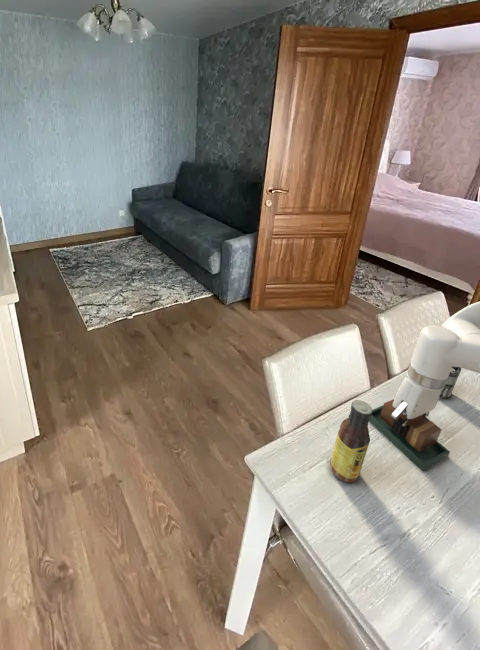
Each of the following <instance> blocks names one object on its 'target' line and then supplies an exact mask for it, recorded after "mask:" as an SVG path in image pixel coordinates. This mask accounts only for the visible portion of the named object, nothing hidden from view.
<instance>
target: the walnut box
mask: <svg viewBox="0 0 480 650" xmlns="http://www.w3.org/2000/svg"><path fill="white" fill-rule="evenodd" d="M394 399H395V398H393V399H390V400H388V401H386V402H384V403H383V405H382V406H383V408H382V411H381V414H380V418H381V419H382V420H384V421H385V422H386V423H387V424H388V425H389V426H390V427H392V425H393V422H394V418H393V417H392V416H391V414H392V413H393V412H394V411H395V410H396V409H397V408H394V407H393V402H394ZM405 411H406V410H405ZM400 417H401V418H402V419H403V420H404V421H405V419H406V416H405V415H403V414H402V415H401V416H400ZM407 426H408V430H407V432H406V435H405V437H404V439H405V440H406V441H407V442H409V444H410V445H412V446H413V447H414V448H415V449H417V450H418V451H419V452H421V451H423V450H425V449H427V448H428V447H430V446H432V445H434V444H436V442H437V441H438V439H439V437H440V435H441V432H442V428H440V426H438V425H437V424H436V423H434V422H433V421H432V420H430V419H429V418H427V417H426V416H424V415H420V416H418V417H416V418H414V419H411V420H410V421H409V423H408V424H407Z"/></svg>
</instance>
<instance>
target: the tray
mask: <svg viewBox="0 0 480 650" xmlns="http://www.w3.org/2000/svg"><path fill="white" fill-rule="evenodd" d="M382 408H383V405H380V406H378V407H375V408H372V416H371V417H370V418H369V422H368V423H370V424H372V426H373V427H374V428H376V430H378V431H379V432H380V433H381V434H382V435H383V436H384V437H386V438H387V439H388V440H389V442H391V443H392V444H393V445H394V446H395V447H396V448H397V449H399V451H401V452H402V453H403V455H405V456H406V457H407V458H408V459H409V460H410V461H411V462H412V463H413V464H415V466H416V467H418V468H419V469H420V470H421V471H422V472H423V471H425V470H427V469H429V468H431V467H432V466H435V465H436V464H438V463H440V462H441V461H443V460H445V459H447V458H448V457H449V456H450V453H451V451H450V450H448V449H447V448H446V447H445V446H444V445H443V444H442V443H440V442H439V441H438V440H437V442H436V444H434V445H432V446H430V447H428V448H427V449H425V450H423V451H421V452H419V451H418V450H417V449H415V448H414V447H413V446H412V445H410V444H409V442H407V441H406V440H405V439H404V438H402V437H400V436H399V435H398V434H397V433H396V432H395V431H394V430H393V429H392V427H390V426H389V425H388V424H387V423H386V422H385V421H384V420H382V419H381V418H380V414H381V411H382Z"/></svg>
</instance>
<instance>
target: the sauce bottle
mask: <svg viewBox="0 0 480 650" xmlns="http://www.w3.org/2000/svg"><path fill="white" fill-rule="evenodd" d="M350 405H351V406H350V413H349V415H348V417H347V418H345V419H344V420H342V421H341V423H340V425H339V430H338V432H337V435H336V438H335V441H334V442H335V444H334V447H333V450H332V453H331V458H330V468H331V472H332V473H333V475H334V476H335V477H336V478H337V479H339V480H340V481H342V482H345V483H353V482H355V481H356V480H357V479H358V478H359V476H360V474H361V470H362V468H363V464H364V461H365V458H366V455H367V452H368V448H369V445H370V442H371V438H370V437H371V436H370V431H369V423H370V422H369V418H370V417H371V416H372V410H373V408H372V406H371V405H370V404H369V403H368V402H366V401H364V400H361V399H354V400H353V401H352V402H351V404H350Z"/></svg>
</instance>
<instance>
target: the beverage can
mask: <svg viewBox="0 0 480 650" xmlns="http://www.w3.org/2000/svg"><path fill="white" fill-rule="evenodd" d="M461 371H462V368H460V367H457V366H452V369H451V371H450V374H449V376H448V379H447V381H446V384H445V386H444V389H443V390H441V394H440V397H439V399H447V398H450V397H451V395H452V393H453V391H454V389H455V386H456V384H457V381H458V378H459V376H460V374H461Z"/></svg>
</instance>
